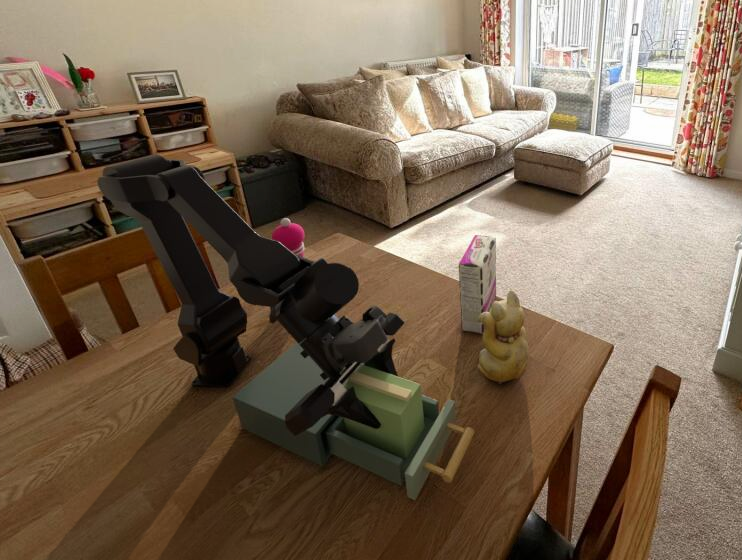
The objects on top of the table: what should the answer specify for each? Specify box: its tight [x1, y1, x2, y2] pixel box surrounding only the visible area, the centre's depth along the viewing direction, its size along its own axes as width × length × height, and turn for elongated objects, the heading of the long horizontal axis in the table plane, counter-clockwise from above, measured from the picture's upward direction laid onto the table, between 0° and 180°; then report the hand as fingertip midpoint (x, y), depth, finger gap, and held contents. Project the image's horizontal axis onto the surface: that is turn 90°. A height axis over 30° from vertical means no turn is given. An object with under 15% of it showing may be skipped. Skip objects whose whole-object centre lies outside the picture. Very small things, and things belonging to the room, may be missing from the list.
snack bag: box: [344, 365, 425, 459], centre depth 58 cm, size 5×10×10 cm, turn 71°
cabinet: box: [232, 338, 364, 467], centre depth 63 cm, size 16×13×7 cm
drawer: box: [326, 394, 475, 501], centre depth 58 cm, size 19×11×5 cm, turn 70°
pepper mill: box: [271, 217, 306, 258], centre depth 86 cm, size 7×7×20 cm
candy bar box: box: [458, 234, 497, 335], centre depth 83 cm, size 11×5×16 cm, turn 168°
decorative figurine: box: [477, 289, 530, 385], centre depth 70 cm, size 10×8×15 cm
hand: (390, 410), depth 57 cm, fingers closed on snack bag, 5 cm apart
